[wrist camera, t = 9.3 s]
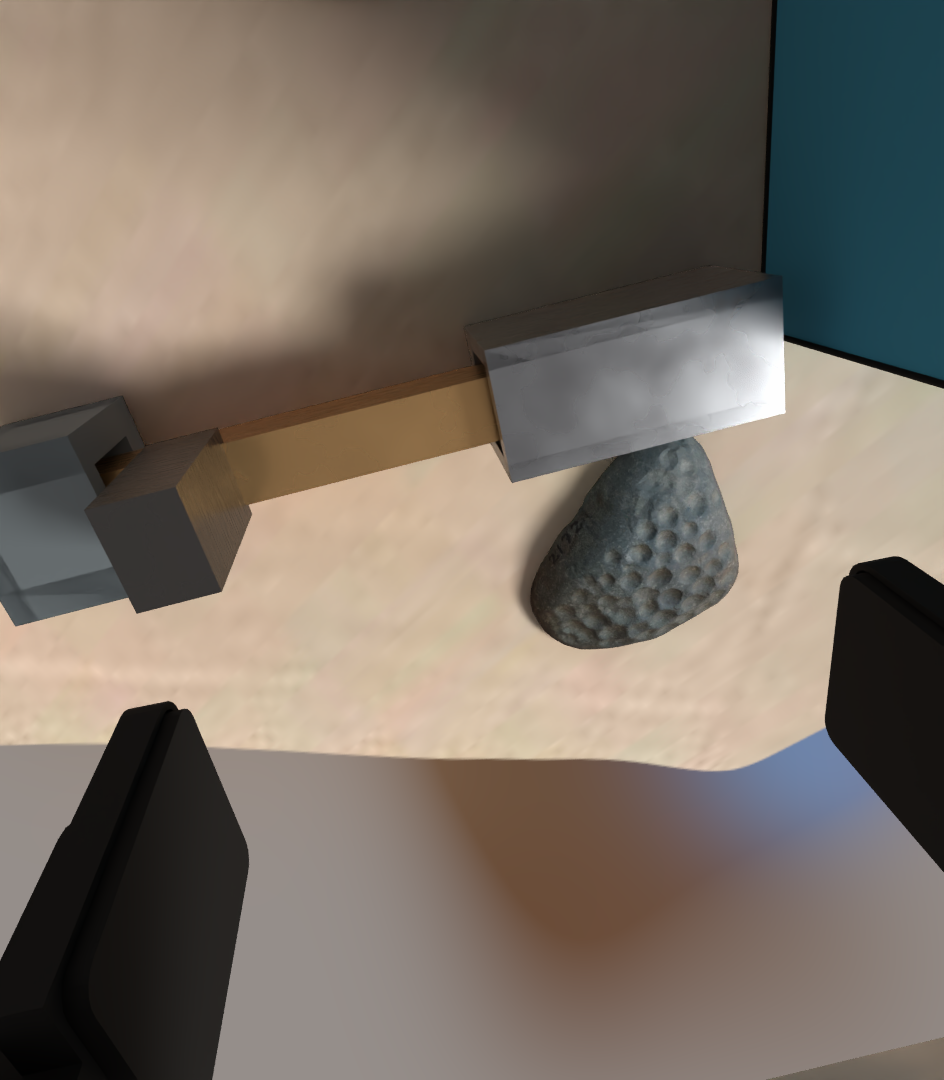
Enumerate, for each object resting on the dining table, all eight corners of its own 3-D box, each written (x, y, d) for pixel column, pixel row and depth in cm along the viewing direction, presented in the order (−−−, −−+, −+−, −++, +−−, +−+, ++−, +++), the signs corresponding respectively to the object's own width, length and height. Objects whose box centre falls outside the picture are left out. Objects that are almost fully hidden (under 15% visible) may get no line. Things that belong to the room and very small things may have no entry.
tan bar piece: (39, 460, 31) (-87, 553, 22) (523, 338, 31) (580, 384, 23) (81, 539, 32) (-21, 654, 24) (538, 423, 33) (597, 495, 25)
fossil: (763, 531, 40) (801, 560, 37) (591, 670, 43) (611, 711, 39) (666, 407, 36) (699, 427, 33) (483, 568, 39) (495, 603, 35)
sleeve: (463, 326, 33) (484, 350, 27) (709, 265, 33) (782, 275, 27) (488, 438, 35) (511, 482, 29) (716, 380, 36) (785, 412, 30)
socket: (3, 425, 32) (-79, 472, 26) (122, 395, 32) (67, 435, 26) (74, 557, 35) (15, 626, 29) (182, 530, 35) (145, 593, 29)
